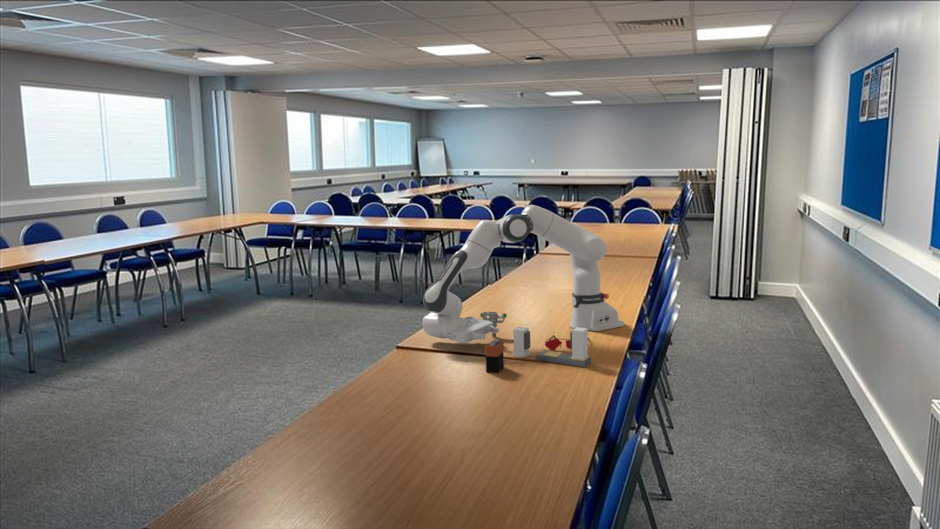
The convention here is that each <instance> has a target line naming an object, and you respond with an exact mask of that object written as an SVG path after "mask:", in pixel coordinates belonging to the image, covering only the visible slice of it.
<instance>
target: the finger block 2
mask: <svg viewBox="0 0 940 529" xmlns="http://www.w3.org/2000/svg"><path fill="white" fill-rule="evenodd" d="M588 331H589V330H588V329H587V328H579V327H576V328H572V329H571V331H570V332H569V333H570V334H569V335H570V336H569V337H570V338H569V339H570V348H569V350H571V354H572V358H573V359H579V360H584V359H585V358H587V357H588V356H589V354H588V352H589V348H588V347H589V345H588V342H589V340H588V338H589V336H588V334H589V332H588Z"/></svg>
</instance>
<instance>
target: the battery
mask: <svg viewBox="0 0 940 529" xmlns="http://www.w3.org/2000/svg"><path fill="white" fill-rule="evenodd" d="M484 349H485V371H486V372H487V373H492V372H493V374H494V373H495V374H498V373H499V372H500V371H501V370H502V369H503V368H504V367H505V360H504V359H505V357H504V342H503V341H500V340H499V339H498V338H493V339H492V340H491V341H490V342H489V343H488V344H487V345H485V348H484Z"/></svg>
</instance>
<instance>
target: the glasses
mask: <svg viewBox="0 0 940 529" xmlns="http://www.w3.org/2000/svg"><path fill="white" fill-rule="evenodd" d="M562 340H565V346H566V348H568V349H570V338H568V339H567V338H562ZM590 341H591V340H590V338H589V337H588V342H590ZM562 345H563V342H562V341H561V339H559V338H558V337H557V338H556V336H555V335H552V336H551V337H550V338H547V339H546V341H545V342H544V346H545V347H546V348H548V350H549V351H555V350H557V348H561V347H562Z"/></svg>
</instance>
